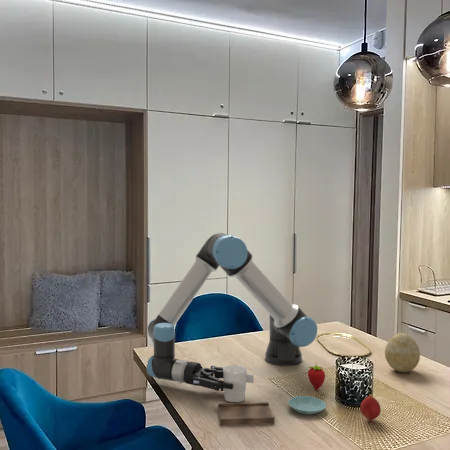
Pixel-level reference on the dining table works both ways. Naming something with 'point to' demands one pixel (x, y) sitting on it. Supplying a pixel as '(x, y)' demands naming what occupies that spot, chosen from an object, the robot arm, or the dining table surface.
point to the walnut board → (245, 413)
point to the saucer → (307, 404)
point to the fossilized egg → (402, 352)
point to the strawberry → (316, 376)
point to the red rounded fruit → (370, 408)
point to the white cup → (237, 375)
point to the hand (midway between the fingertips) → (248, 383)
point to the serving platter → (347, 336)
